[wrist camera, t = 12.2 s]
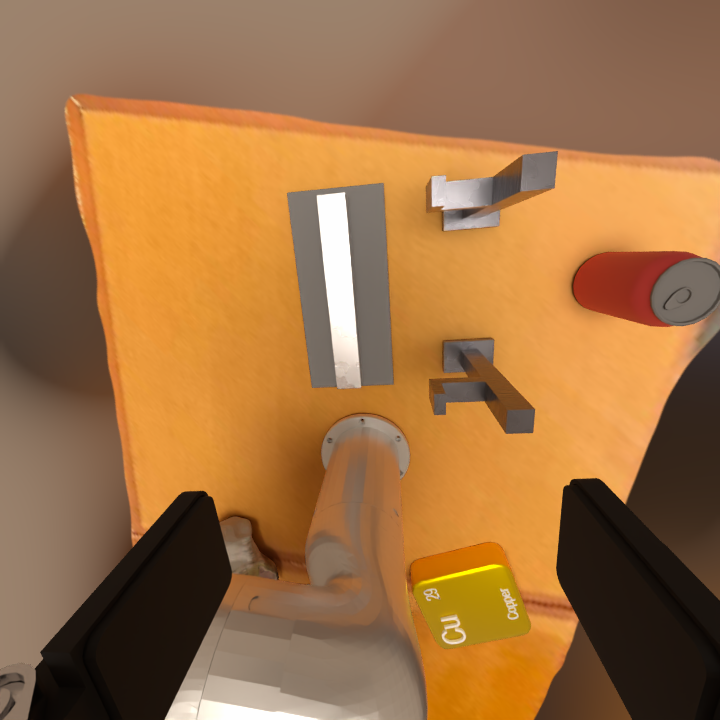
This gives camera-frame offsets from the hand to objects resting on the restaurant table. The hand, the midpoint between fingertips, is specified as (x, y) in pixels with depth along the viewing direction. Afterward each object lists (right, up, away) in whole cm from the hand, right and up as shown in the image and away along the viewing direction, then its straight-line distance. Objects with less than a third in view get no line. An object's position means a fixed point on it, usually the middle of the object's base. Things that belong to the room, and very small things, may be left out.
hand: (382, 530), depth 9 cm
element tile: (+17, -32, +45) cm, 58 cm away
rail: (-3, +12, +32) cm, 34 cm away
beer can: (+27, +14, +30) cm, 43 cm away
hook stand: (+11, +13, +31) cm, 36 cm away
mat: (-3, +13, +32) cm, 35 cm away
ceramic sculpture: (-20, -26, +46) cm, 57 cm away
